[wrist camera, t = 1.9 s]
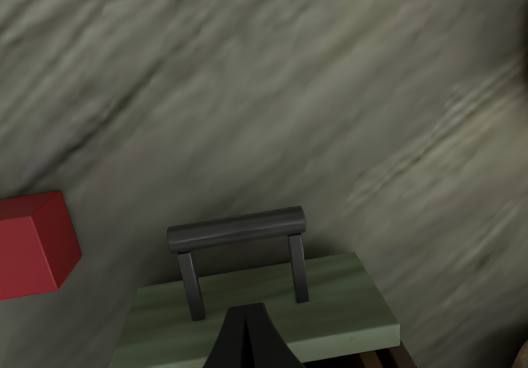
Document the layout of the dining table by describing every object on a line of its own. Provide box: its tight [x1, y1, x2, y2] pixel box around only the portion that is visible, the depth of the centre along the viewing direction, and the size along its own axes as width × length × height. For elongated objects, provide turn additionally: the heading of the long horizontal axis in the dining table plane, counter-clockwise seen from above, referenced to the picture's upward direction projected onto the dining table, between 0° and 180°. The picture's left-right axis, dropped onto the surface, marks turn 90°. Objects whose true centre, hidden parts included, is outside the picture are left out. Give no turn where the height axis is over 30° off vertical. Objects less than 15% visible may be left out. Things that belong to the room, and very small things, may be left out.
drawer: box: [108, 206, 400, 368], centre depth 20 cm, size 17×12×6 cm
